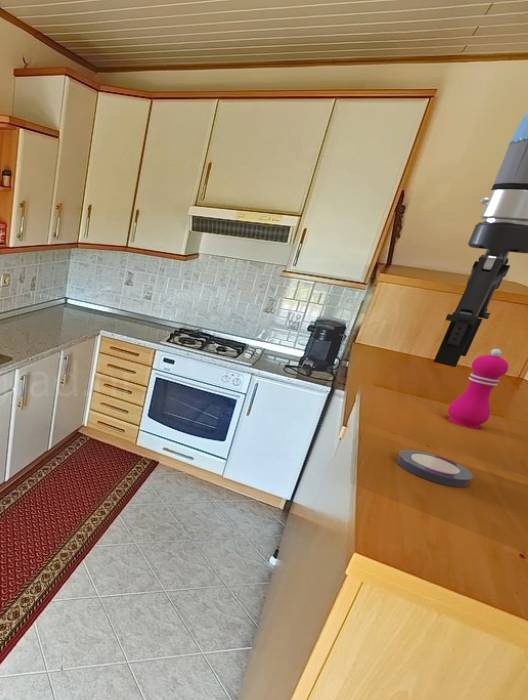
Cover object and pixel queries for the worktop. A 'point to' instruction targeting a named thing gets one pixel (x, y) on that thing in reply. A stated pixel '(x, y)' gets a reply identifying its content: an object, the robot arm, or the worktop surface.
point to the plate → (434, 468)
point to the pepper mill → (478, 391)
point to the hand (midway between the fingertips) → (450, 359)
